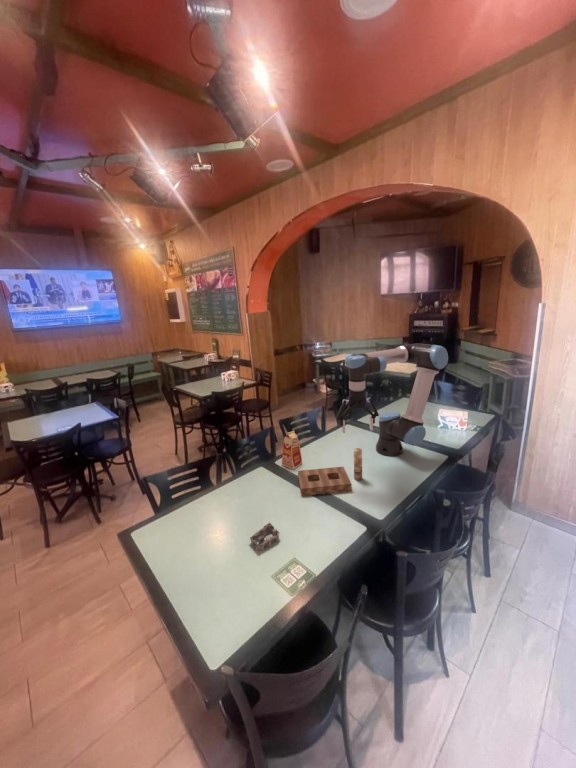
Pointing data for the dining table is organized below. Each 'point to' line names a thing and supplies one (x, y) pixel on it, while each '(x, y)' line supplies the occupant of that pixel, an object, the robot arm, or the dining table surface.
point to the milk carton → (291, 451)
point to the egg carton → (260, 537)
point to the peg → (358, 464)
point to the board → (324, 481)
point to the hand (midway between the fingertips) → (357, 431)
